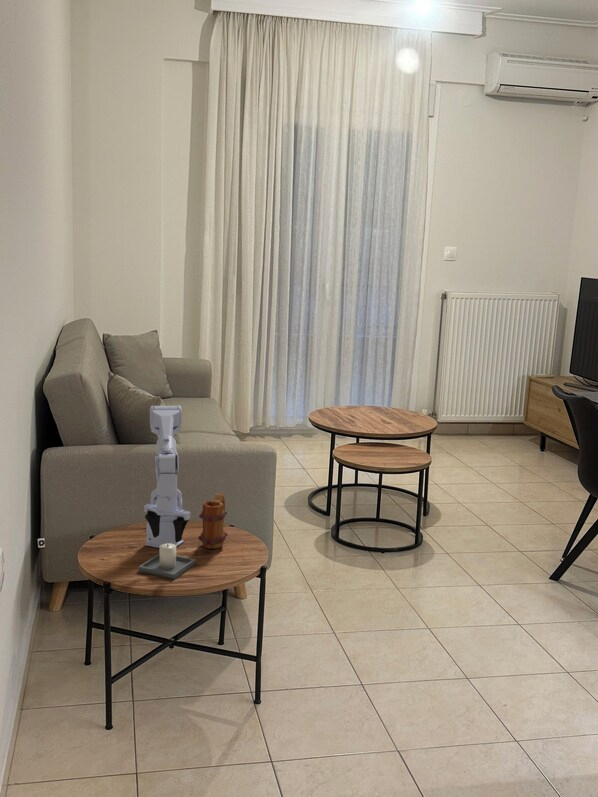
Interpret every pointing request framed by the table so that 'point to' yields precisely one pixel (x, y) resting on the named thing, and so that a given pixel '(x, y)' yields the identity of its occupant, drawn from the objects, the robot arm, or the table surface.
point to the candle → (167, 556)
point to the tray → (154, 569)
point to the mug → (213, 523)
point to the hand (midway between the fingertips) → (167, 538)
